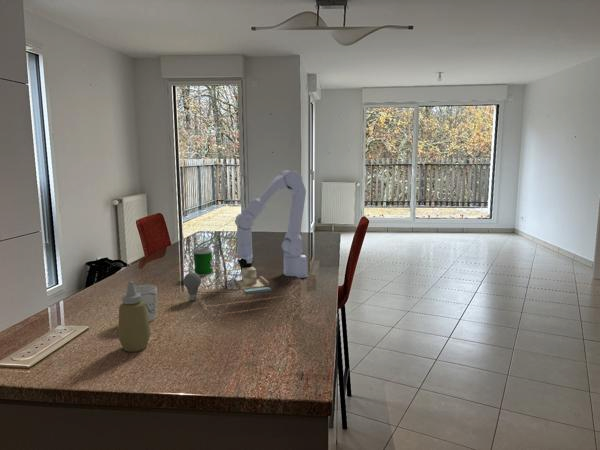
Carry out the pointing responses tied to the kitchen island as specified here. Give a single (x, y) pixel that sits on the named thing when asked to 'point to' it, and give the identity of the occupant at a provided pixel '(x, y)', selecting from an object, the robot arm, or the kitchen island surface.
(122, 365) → the kitchen island surface
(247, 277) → the beige rectangular block
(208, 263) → the soda can
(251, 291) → the panel
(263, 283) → the bed
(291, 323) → the kitchen island surface
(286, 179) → the robot arm
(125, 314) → the squeeze bottle
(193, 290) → the light bulb
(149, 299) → the mug
